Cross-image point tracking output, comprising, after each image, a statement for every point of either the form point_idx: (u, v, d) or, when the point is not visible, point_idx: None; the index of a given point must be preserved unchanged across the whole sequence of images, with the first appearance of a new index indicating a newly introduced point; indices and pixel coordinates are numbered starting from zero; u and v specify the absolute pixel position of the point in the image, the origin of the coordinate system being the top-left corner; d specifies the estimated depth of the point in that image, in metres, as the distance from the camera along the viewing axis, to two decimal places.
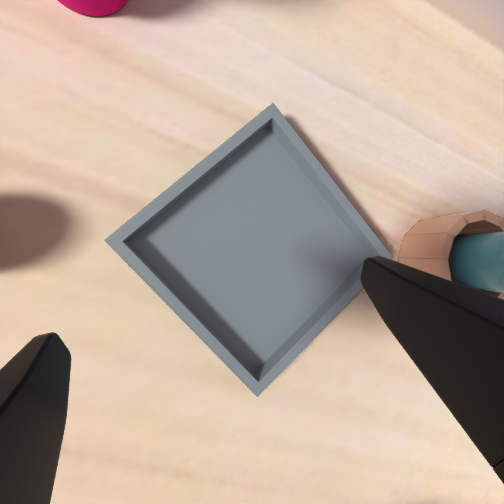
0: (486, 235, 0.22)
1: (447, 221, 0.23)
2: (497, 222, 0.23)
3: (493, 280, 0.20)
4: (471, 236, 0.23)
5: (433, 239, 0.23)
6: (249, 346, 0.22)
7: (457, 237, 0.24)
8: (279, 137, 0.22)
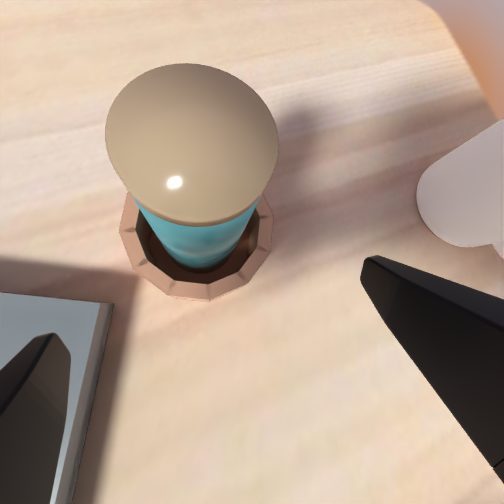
0: None
1: None
2: None
3: (184, 254, 0.13)
4: None
5: None
6: None
7: None
8: None
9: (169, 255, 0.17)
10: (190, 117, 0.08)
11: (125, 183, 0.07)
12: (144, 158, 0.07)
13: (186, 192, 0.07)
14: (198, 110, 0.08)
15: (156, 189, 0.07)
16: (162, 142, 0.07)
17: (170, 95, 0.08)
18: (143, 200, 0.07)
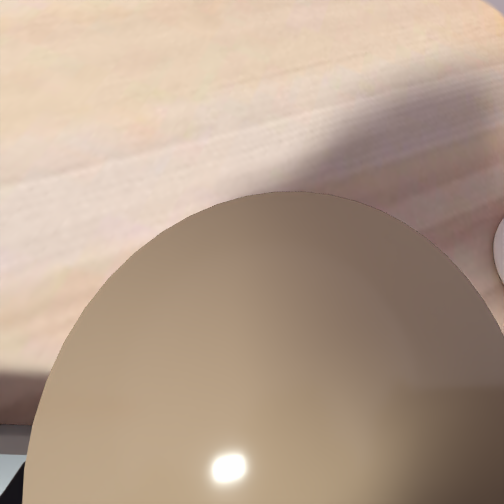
0: None
1: None
2: None
3: None
4: None
5: None
6: None
7: None
8: None
9: None
10: (296, 372, 0.03)
11: None
12: None
13: None
14: (316, 343, 0.03)
15: None
16: (218, 488, 0.02)
17: (235, 303, 0.03)
18: None
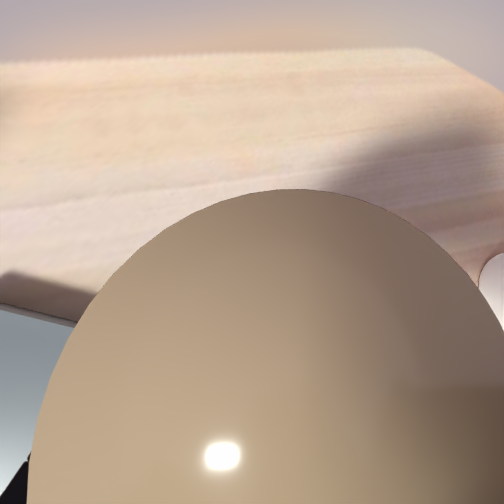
0: None
1: None
2: None
3: None
4: None
5: None
6: None
7: None
8: None
9: None
10: (298, 369, 0.03)
11: None
12: None
13: None
14: (320, 340, 0.03)
15: None
16: (221, 483, 0.02)
17: (238, 300, 0.03)
18: None
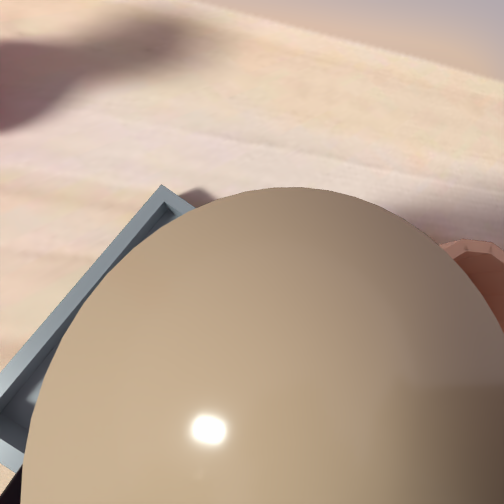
0: None
1: None
2: (484, 249, 0.18)
3: None
4: None
5: None
6: None
7: None
8: None
9: None
10: (295, 368, 0.03)
11: None
12: None
13: None
14: (317, 339, 0.03)
15: None
16: (217, 483, 0.02)
17: (234, 299, 0.03)
18: None
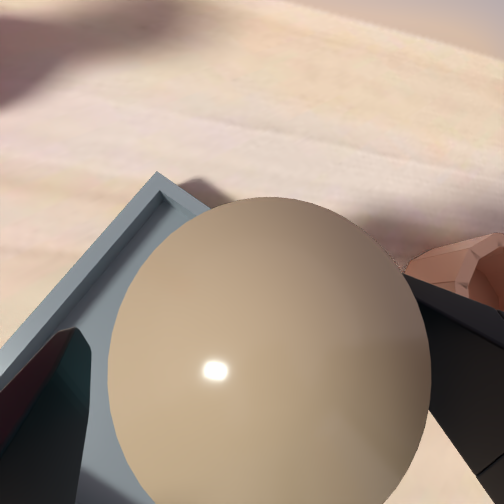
0: None
1: (449, 261, 0.16)
2: None
3: None
4: None
5: None
6: None
7: None
8: (182, 211, 0.16)
9: None
10: (272, 310, 0.04)
11: (150, 490, 0.03)
12: (189, 421, 0.04)
13: (276, 493, 0.04)
14: (285, 293, 0.04)
15: (216, 497, 0.03)
16: (223, 376, 0.04)
17: (233, 266, 0.04)
18: None
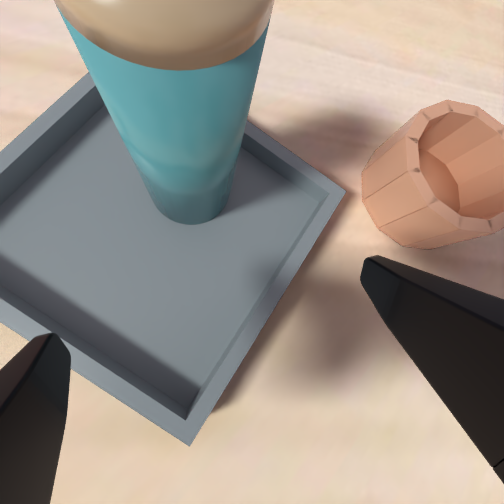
0: None
1: (404, 128, 0.17)
2: (469, 111, 0.17)
3: (162, 173, 0.10)
4: None
5: (393, 154, 0.17)
6: (171, 367, 0.15)
7: None
8: None
9: (151, 197, 0.14)
10: None
11: None
12: None
13: None
14: None
15: None
16: None
17: None
18: None
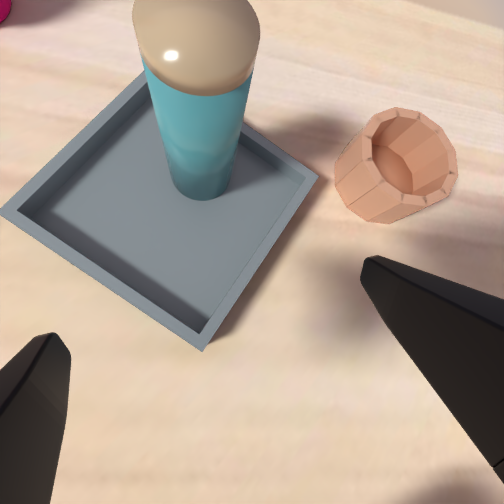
0: None
1: (363, 128, 0.23)
2: (413, 116, 0.22)
3: (187, 156, 0.15)
4: None
5: (354, 148, 0.22)
6: (187, 302, 0.20)
7: None
8: None
9: (174, 178, 0.20)
10: (194, 9, 0.10)
11: (147, 50, 0.10)
12: (160, 34, 0.10)
13: (191, 59, 0.10)
14: (200, 5, 0.11)
15: (169, 55, 0.10)
16: (173, 24, 0.10)
17: None
18: (160, 63, 0.10)
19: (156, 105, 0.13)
